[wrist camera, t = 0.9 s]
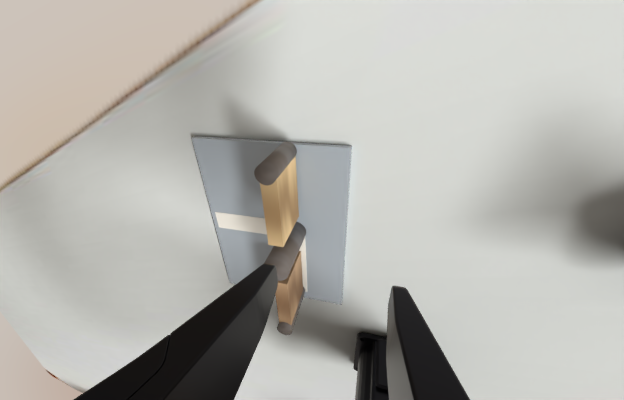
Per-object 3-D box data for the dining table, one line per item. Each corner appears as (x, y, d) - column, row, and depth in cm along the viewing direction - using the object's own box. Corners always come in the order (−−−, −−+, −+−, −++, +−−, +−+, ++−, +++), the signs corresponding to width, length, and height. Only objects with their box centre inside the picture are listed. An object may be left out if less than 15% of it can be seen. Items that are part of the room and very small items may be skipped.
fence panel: (300, 216, 19) (283, 250, 16) (285, 214, 19) (265, 247, 16) (296, 142, 16) (274, 165, 13) (278, 141, 16) (252, 163, 13)
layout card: (342, 301, 24) (341, 305, 24) (231, 279, 26) (229, 282, 26) (351, 145, 16) (350, 148, 16) (194, 136, 19) (191, 138, 18)
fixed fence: (309, 291, 24) (294, 339, 20) (291, 287, 25) (273, 334, 21) (307, 219, 20) (287, 263, 16) (285, 217, 20) (261, 258, 16)
